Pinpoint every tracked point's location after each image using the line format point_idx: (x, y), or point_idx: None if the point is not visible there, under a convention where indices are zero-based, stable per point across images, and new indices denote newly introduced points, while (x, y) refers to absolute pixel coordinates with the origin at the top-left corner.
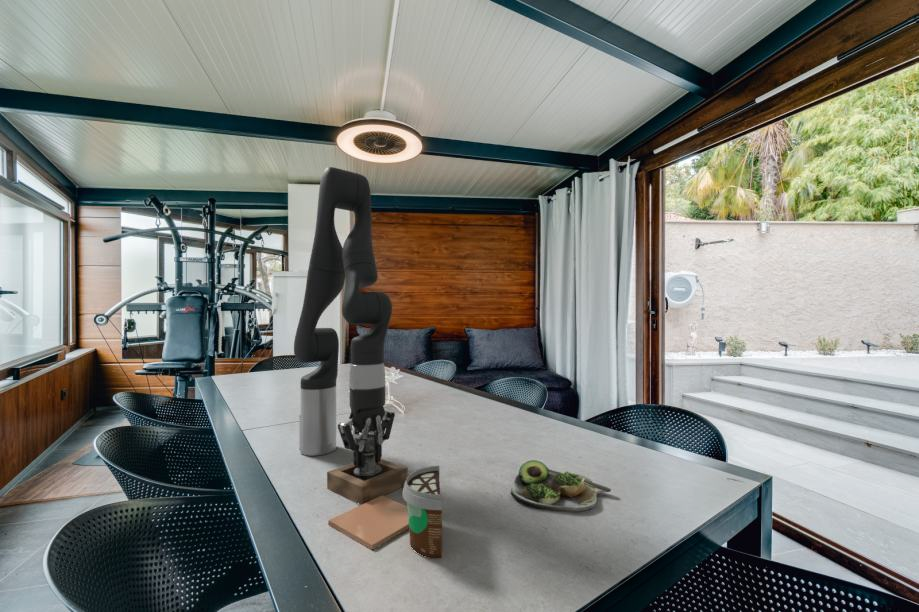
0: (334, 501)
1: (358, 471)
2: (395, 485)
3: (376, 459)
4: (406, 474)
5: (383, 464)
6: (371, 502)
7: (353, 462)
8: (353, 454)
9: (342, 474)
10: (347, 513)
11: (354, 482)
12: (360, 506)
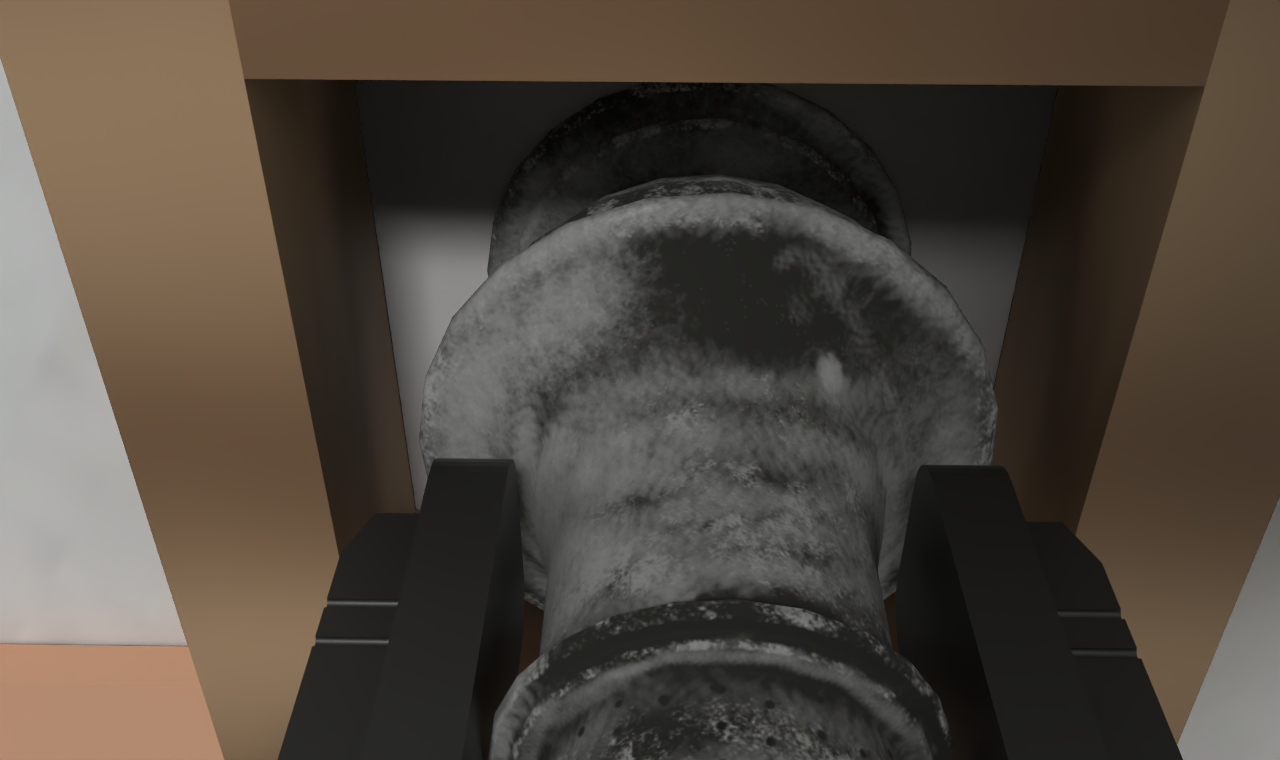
0: (48, 281)
1: (480, 455)
2: None
3: (907, 632)
4: None
5: (1099, 480)
6: None
7: (336, 569)
8: (284, 737)
9: (194, 260)
10: (19, 713)
11: (222, 642)
12: None
